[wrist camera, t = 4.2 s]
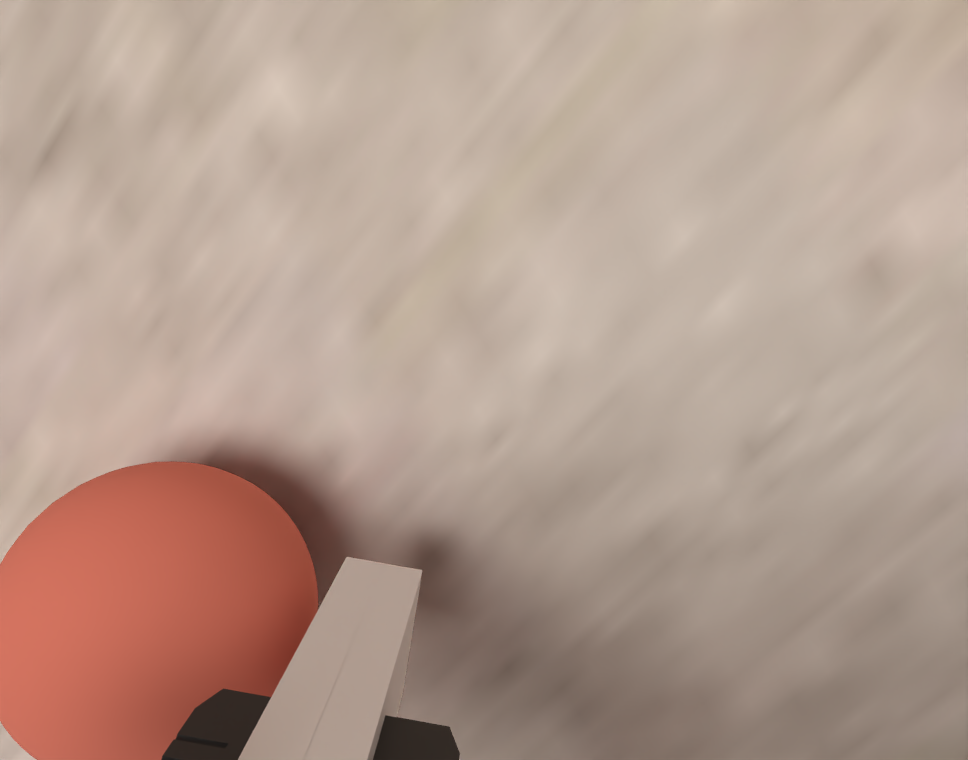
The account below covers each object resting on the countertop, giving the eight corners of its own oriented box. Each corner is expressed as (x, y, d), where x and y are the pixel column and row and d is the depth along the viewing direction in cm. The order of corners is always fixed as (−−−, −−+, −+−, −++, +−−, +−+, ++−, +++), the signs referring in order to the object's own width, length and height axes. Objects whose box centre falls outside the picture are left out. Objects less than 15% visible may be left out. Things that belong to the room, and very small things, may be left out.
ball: (365, 452, 16) (262, 569, 11) (338, 684, 18) (231, 905, 12) (115, 409, 17) (-120, 499, 11) (105, 638, 18) (-112, 831, 12)
